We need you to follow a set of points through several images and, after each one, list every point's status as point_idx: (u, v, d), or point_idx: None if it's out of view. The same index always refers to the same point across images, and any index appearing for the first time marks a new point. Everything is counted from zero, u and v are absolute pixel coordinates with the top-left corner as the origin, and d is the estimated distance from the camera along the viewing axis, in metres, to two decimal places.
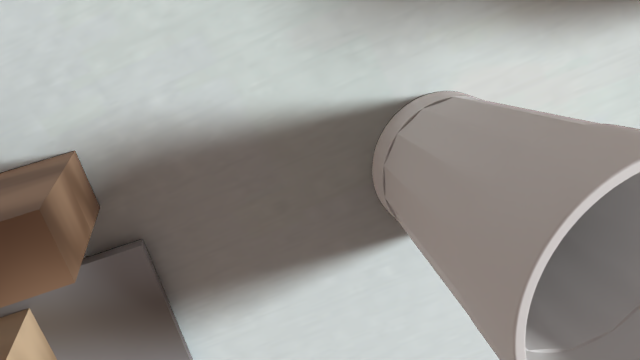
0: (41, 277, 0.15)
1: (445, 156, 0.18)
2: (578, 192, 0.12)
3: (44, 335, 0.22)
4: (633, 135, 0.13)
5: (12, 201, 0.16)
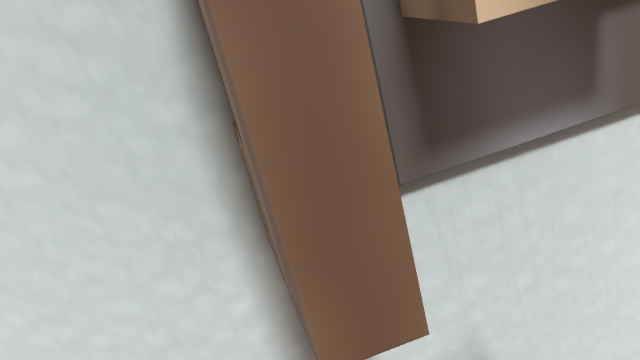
0: None
1: None
2: None
3: None
4: None
5: None
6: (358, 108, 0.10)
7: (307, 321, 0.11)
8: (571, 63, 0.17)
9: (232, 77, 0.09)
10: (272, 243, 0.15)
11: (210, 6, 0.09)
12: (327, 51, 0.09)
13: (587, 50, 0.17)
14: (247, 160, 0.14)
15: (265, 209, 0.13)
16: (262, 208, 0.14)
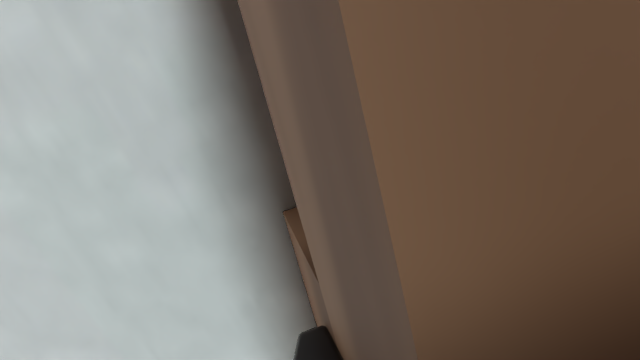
0: None
1: None
2: None
3: None
4: None
5: None
6: None
7: None
8: None
9: (402, 273, 0.03)
10: None
11: (348, 25, 0.02)
12: None
13: None
14: (321, 302, 0.07)
15: None
16: None
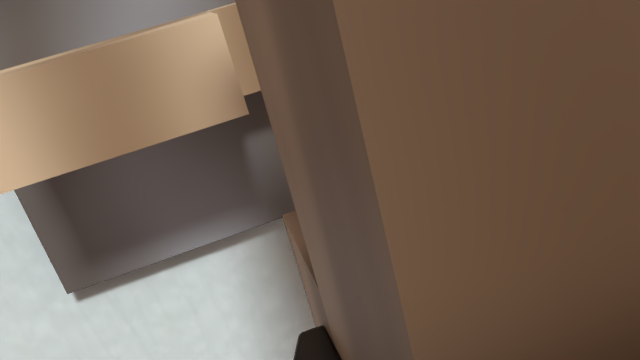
0: None
1: None
2: None
3: (42, 57, 0.16)
4: None
5: None
6: None
7: None
8: (224, 179, 0.18)
9: (401, 284, 0.03)
10: None
11: (346, 37, 0.02)
12: None
13: (238, 167, 0.18)
14: (320, 306, 0.07)
15: None
16: None
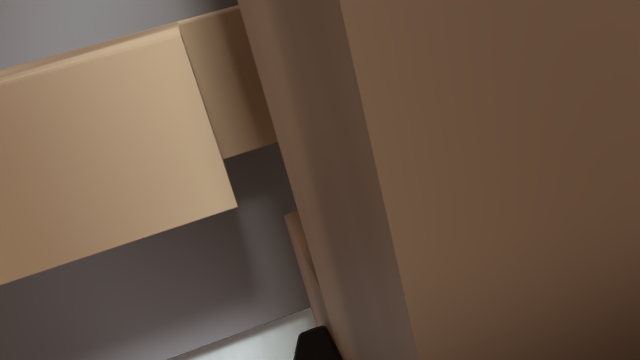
0: None
1: None
2: None
3: None
4: None
5: None
6: None
7: None
8: (205, 266, 0.12)
9: (405, 285, 0.03)
10: None
11: (352, 38, 0.02)
12: None
13: (226, 248, 0.12)
14: (322, 306, 0.07)
15: None
16: None
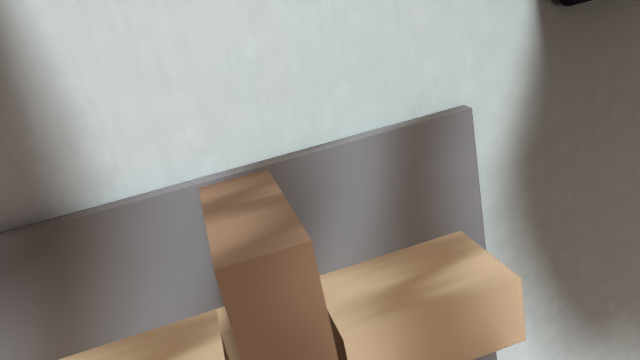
0: (298, 272, 0.13)
1: None
2: None
3: (78, 353, 0.19)
4: None
5: None
6: None
7: None
8: None
9: None
10: None
11: None
12: None
13: None
14: None
15: None
16: None
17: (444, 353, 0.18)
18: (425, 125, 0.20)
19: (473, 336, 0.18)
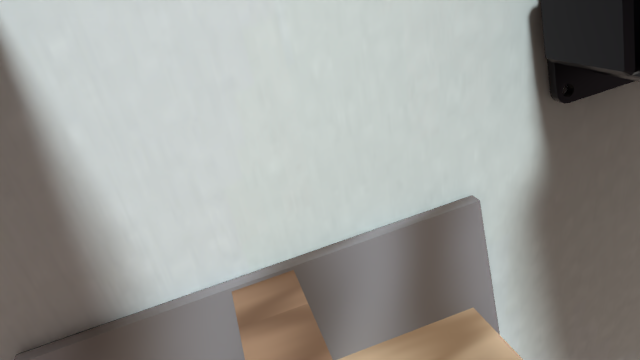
0: None
1: None
2: None
3: None
4: None
5: None
6: None
7: None
8: None
9: None
10: None
11: None
12: None
13: None
14: None
15: None
16: None
17: None
18: (437, 219, 0.21)
19: None
